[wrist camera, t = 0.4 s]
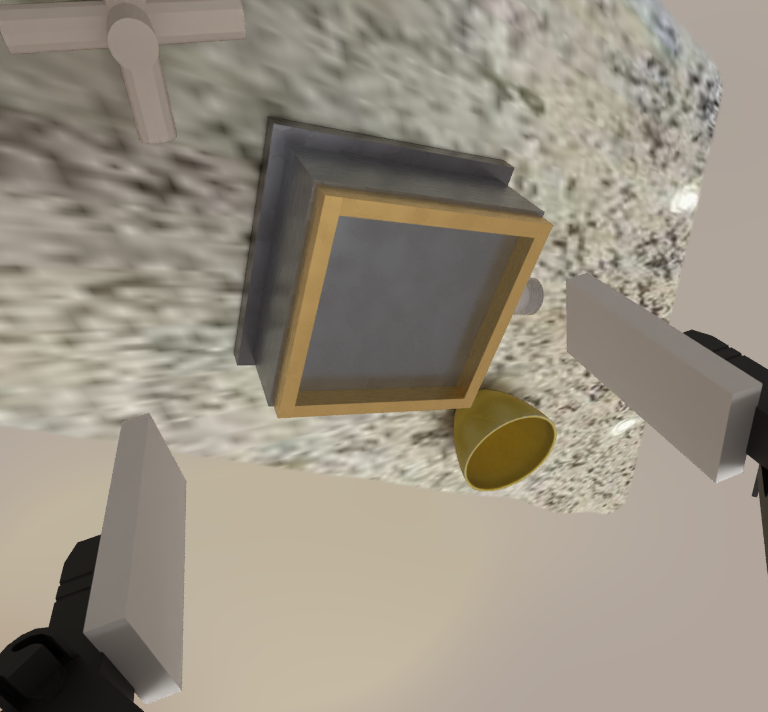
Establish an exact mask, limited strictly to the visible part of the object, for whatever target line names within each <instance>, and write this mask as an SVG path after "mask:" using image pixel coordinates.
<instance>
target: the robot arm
mask: <svg viewBox="0 0 768 712" xmlns="http://www.w3.org/2000/svg"><path fill="white" fill-rule="evenodd" d="M566 309H567V352H568V353H569V354H570V355H571V356H572V357H574V358H575V359H576V360H577V361H578V362H579V363H580V364H581V365H583V366H584V367H585V368H586V369H587V370H588V371H589V372H591V373H592V374H593V375H594V376H595V377H596V378H597V379H598V380H600V381H601V382H602V383H603V384H604V385H605V386H606V387H607V388H609V389H610V390H611V391H612V392H613V393H614V394H615V395H617V396H618V397H619V398H620V399H621V400H622V401H623V402H624V403H626V404H627V405H628V406H629V407H630V408H631V409H632V410H634V411H635V412H636V413H637V414H638V415H639V416H640V417H641V418H643V419H644V420H645V421H646V422H647V423H648V424H649V425H650V426H652V427H653V428H654V429H655V430H656V431H657V432H658V433H660V434H661V435H662V436H663V437H664V438H665V439H666V440H668V441H669V442H670V443H671V444H672V445H673V446H674V447H675V448H676V449H678V450H679V451H680V452H681V453H682V454H683V455H684V456H686V457H687V458H688V459H689V460H690V461H691V462H693V464H695V465H696V466H697V467H698V468H699V469H700V470H701V471H703V472H704V473H705V474H706V475H707V476H708V477H709V478H710V479H712V480H713V481H714V482H715V483H717V482H720V481H722V480H725V479H727V478H730V477H732V476H735V475H738V474H740V473H743V468H744V464H745V460H746V455H749V456H750V457H751V458H753V459H754V460H755V461H756V462H758V463H759V469H758V473H757V477H756V481H755V484H754V489H753V493H752V496H753V497H757V496H758V492H759V498H760V507H761V516H762V526H763V535H764V544H765V554H766V563H767V572H768V369H766V368H765V367H763V366H761V365H760V364H758V363H756V362H755V361H753V360H751V359H750V358H748V357H746V356H745V355H744V356H742V355H741V353H740V352H738V351H737V350H735V349H733V348H729V347H728V345H726V344H725V343H723V342H722V341H720V340H718V339H717V338H715V337H713V336H711V335H708V334H704V333H701V332H698V331H694V330H689V331H686V332H684V333H682V332H680V331H679V330H677V329H676V328H674V327H672V326H671V325H669V324H668V323H666V322H665V321H663V320H661V319H660V318H658V317H657V316H655V315H654V314H652V313H650V312H649V311H647V310H646V309H644V308H643V307H641V306H639V305H638V304H636V303H635V302H633V301H632V300H630V299H628V298H627V297H625V296H624V295H622V294H621V293H619V292H617V291H616V290H614V289H613V288H611V287H610V286H608V285H606V284H605V283H603V282H602V281H600V280H598V279H597V278H595V277H594V276H592V275H591V274H589V273H586V274H582V275H579V276H576V277H573V278H570V279H567V280H566ZM185 512H186V480H185V478H184V476H183V474H182V472H181V470H180V468H179V467H178V465H177V463H176V461H175V459H174V457H173V456H172V454H171V452H170V450H169V448H168V446H167V444H166V443H165V441H164V439H163V437H162V435H161V433H160V432H159V430H158V428H157V426H156V424H155V422H154V421H153V419H152V417H151V415H150V413H148V414H145V415H141V416H138V417H135V418H132V419H129V420H126V421H123V422H122V425H121V431H120V436H119V442H118V447H117V452H116V458H115V463H114V468H113V474H112V479H111V485H110V490H109V495H108V501H107V506H106V512H105V518H104V522H103V528H102V533H101V535H98V536H95V537H92V538H89V539H87V540H84V541H81V542H78V543H77V544H76V546H75V547H74V549H73V550H72V552H71V553H70V555H69V556H68V558H67V560H66V561H65V563H64V566H63V570H62V574H61V579H60V586H59V587H58V591H57V595H56V602H55V603H54V607H53V611H52V615H51V619H50V623H49V627H46V628H38V629H34V630H32V631H30V632H27V633H25V634H23V635H21V636H20V637H18V638H17V639H16V640H14V641H13V642H12V643H10V644H9V645H8V646H7V647H6V648H5V649H4V650H3V651H2V652H1V653H0V708H1V709H2V711H1V712H144V711H143V710H142V709H140V708H139V707H138V706H137V705H136V704H135V703H134V702H133V701H134V692H135V693H136V694H137V695H138V697H139V698H140V699H141V700H142V701H143V702H144V703H145V704H149V703H151V702H154V701H157V700H159V699H162V698H164V697H167V696H169V695H172V694H175V693H177V692H180V691H182V654H183V650H182V649H183V609H184V607H183V606H184V562H185V515H186V514H185Z"/></svg>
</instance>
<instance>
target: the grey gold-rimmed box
mask: <svg viewBox="0 0 768 712" xmlns="http://www.w3.org/2000/svg"><path fill="white" fill-rule="evenodd" d="M513 170H514V167H513V166H511V165H510V164H508V163H507V162H505V161H503V160H498V159H493V158H487V157H482V156H477V155H471V154H466V153H461V152H455V151H450V150H444V149H439V148H434V147H428V146H423V145H418V144H412V143H407V142H402V141H396V140H391V139H386V138H380V137H375V136H370V135H364V134H359V133H354V132H348V131H343V130H338V129H332V128H327V127H322V126H316V125H311V124H306V123H300V122H295V121H289V120H284V119H279V118H273V117H268V124H267V131H266V138H265V145H264V152H263V159H262V165H261V172H260V179H259V186H258V193H257V200H256V206H255V213H254V220H253V227H252V234H251V241H250V248H249V254H248V261H247V268H246V275H245V282H244V289H243V295H242V302H241V309H240V316H239V323H238V330H237V337H236V343H235V350H234V356H235V359H236V363H237V365H256V368H257V371H258V375H259V378H260V381H261V384H262V387H263V390H264V393H265V396H266V400H267V403H268V406H274V408H275V411H276V414H277V417H278V418H291V417H309V416H328V415H347V414H366V413H384V412H403V411H422V410H441V409H459V408H471V406H472V404H473V401H474V399H475V397H476V395H477V393H478V390H479V388H480V386H481V384H482V381H483V379H484V377H485V375H486V373H487V370H488V368H489V366H490V364H491V362H492V359H493V357H494V355H495V353H496V350H497V348H498V346H499V344H500V342H501V339H502V337H503V335H504V333H505V331H506V328H507V326H508V324H509V322H510V319H511V317H512V315H513V314H516V315H533V314H535V313H536V312H537V311H538V310H539V309H540V307H541V305H542V302H543V288H542V285H541V283H540V282H539V281H538V280H537V279H535V278H529V277H530V275H531V273H532V271H533V268H534V266H535V264H536V262H537V260H538V257H539V255H540V253H541V251H542V249H543V246H544V244H545V242H546V240H547V237H548V235H549V233H550V231H551V229H552V226H553V225H552V224H551V223H550V222H548V221H547V220H546V219H544V218H543V215H544V212H543V211H542V210H541V209H539V208H538V207H537V206H535V205H534V204H532V203H531V202H530V201H528V200H527V199H526V198H524V197H523V196H521V195H520V194H519V193H517V192H516V191H514V190H513V189H512V188H510V187H509V186H508V183H509V181H510V178H511V176H512V173H513Z"/></svg>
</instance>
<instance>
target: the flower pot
mask: <svg viewBox="0 0 768 712" xmlns="http://www.w3.org/2000/svg"><path fill="white" fill-rule="evenodd" d="M556 436H557V431H556V427H555V425H554V423H553V422H552V421H551V420H550V419H549V418H548V417H546V416H545V415H544V414H543V413H541V412H540V411H539V410H537V409H536V408H534V407H533V406H531V405H530V404H528V403H526V402H524V401H523V400H521V399H518V398H516V397H514V396H511V395H509V394H506V393H503V392H499V391H495V390H489V389H482V390H478V393H477V395H476V397H475V399H474V401H473V404H472V406H471V408H459V409H456V411H455V416H454V443H455V449H456V454H457V458H458V462H459V465H460V468H461V471H462V473H463V476H464V478H465V480H466V482H467V484H468V485H469V486H470V487H472V488H473V489H476V490H479V491H495V490H499V489H503V488H506V487H509V486H511V485H513V484H515V483H517V482H519V481H521V480H522V479H524V478H526V477H527V476H529V475H530V474H531V473H532V472H534V471H535V470H536V469H537V468H538V467H539V466H540V465H541V464H542V463H543V462H544V461H545V460H546V458H547V457H548V456H549V454H550V453H551V451H552V449H553V447H554V444H555V441H556Z"/></svg>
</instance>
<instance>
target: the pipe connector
mask: <svg viewBox="0 0 768 712" xmlns="http://www.w3.org/2000/svg"><path fill="white" fill-rule="evenodd" d="M0 31H1V34H2V36H3V39H4V41H5V43H6V46H7V48H8V49H9V51H10V53H12V54H24V53H39V52H55V51H70V50H85V49H101V48H109V49H110V52H111V54H112V56H113V57H114V59H115V60H116V61H117V62H118V63H119V64H120V68H121V72H122V76H123V80H124V83H125V87H126V91H127V95H128V98H129V102H130V106H131V110H132V113H133V117H134V121H135V125H136V129H137V132H138V136H139V140H141V141H142V142H145V143H163V142H168V141H171V140H173V139H175V138H176V137H177V132H176V128H175V123H174V119H173V114H172V110H171V105H170V101H169V96H168V92H167V87H166V83H165V78H164V74H163V69H162V65H161V60H160V56H159V45H162V44H177V43H193V42H208V41H223V40H239V39H245V38H246V27H245V18H244V12H243V7H242V3H241V0H103V1H82V2H59V3H36V4H13V5H0Z"/></svg>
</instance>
